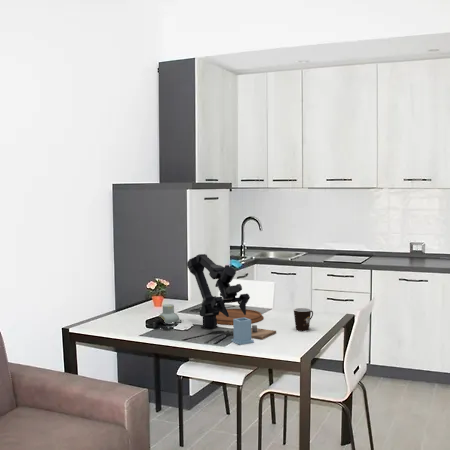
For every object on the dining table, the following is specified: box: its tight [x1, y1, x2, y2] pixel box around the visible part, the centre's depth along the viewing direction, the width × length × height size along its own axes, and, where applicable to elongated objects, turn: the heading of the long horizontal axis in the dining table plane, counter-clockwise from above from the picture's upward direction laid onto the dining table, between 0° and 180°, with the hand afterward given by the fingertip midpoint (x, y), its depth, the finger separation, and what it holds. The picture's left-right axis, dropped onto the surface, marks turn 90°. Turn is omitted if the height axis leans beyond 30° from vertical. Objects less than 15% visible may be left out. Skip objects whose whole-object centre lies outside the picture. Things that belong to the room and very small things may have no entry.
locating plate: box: [232, 324, 277, 341], centre depth 297 cm, size 16×14×4 cm
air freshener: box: [158, 303, 180, 323], centre depth 321 cm, size 11×8×10 cm
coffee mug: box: [293, 307, 314, 332], centre depth 305 cm, size 12×9×10 cm
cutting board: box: [216, 308, 264, 326], centre depth 332 cm, size 32×32×3 cm
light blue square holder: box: [230, 318, 255, 346], centre depth 283 cm, size 8×8×10 cm
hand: (236, 315), depth 287 cm, fingers open, 9 cm apart
